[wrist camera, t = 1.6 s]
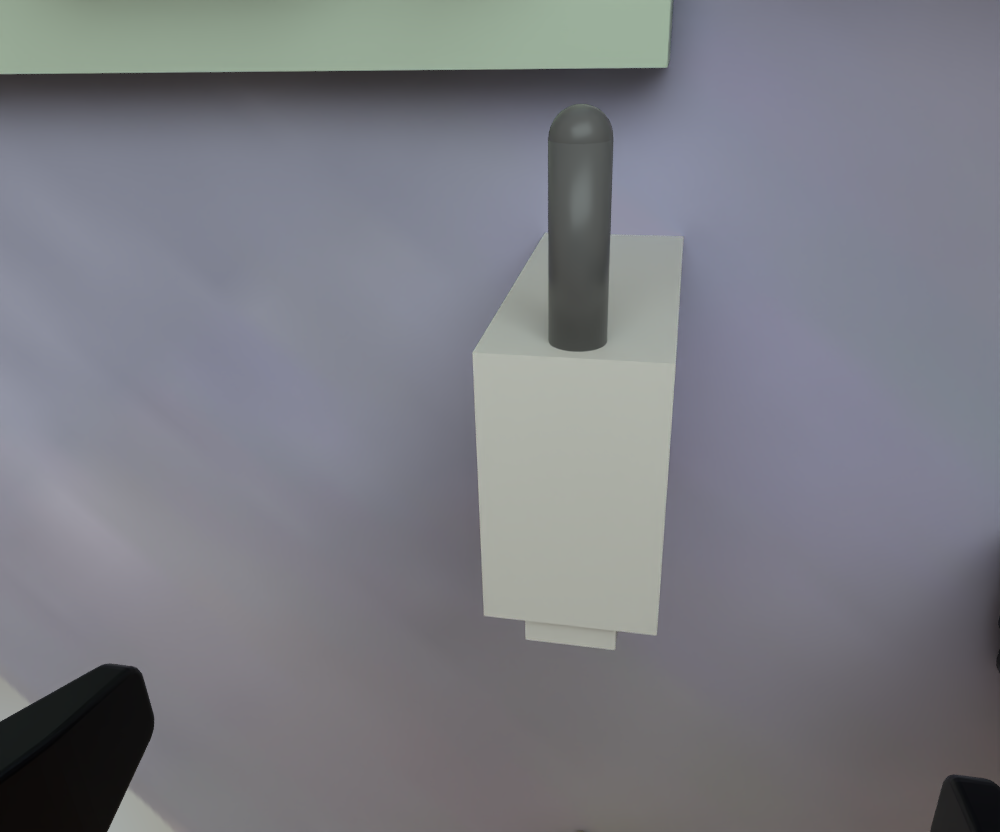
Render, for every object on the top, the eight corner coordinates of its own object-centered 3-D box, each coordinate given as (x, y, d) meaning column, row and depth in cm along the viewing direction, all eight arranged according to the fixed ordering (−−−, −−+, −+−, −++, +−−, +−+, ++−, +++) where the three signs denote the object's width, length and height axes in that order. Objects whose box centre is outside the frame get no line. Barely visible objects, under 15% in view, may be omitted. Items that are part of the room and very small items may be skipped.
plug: (544, 64, 18) (462, 111, 11) (695, 62, 17) (693, 111, 11) (545, 454, 22) (484, 642, 16) (667, 464, 21) (654, 662, 15)
